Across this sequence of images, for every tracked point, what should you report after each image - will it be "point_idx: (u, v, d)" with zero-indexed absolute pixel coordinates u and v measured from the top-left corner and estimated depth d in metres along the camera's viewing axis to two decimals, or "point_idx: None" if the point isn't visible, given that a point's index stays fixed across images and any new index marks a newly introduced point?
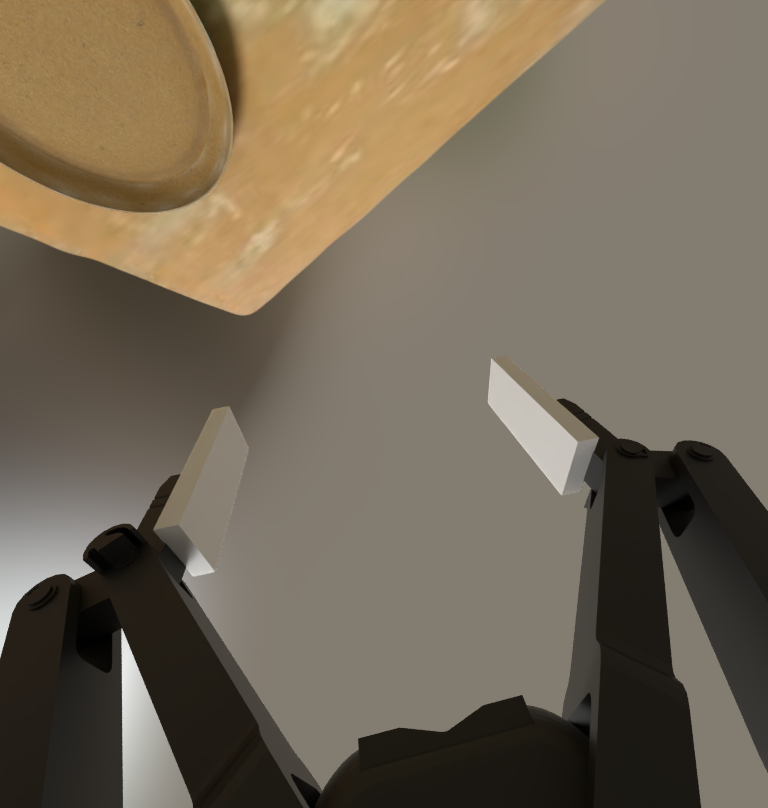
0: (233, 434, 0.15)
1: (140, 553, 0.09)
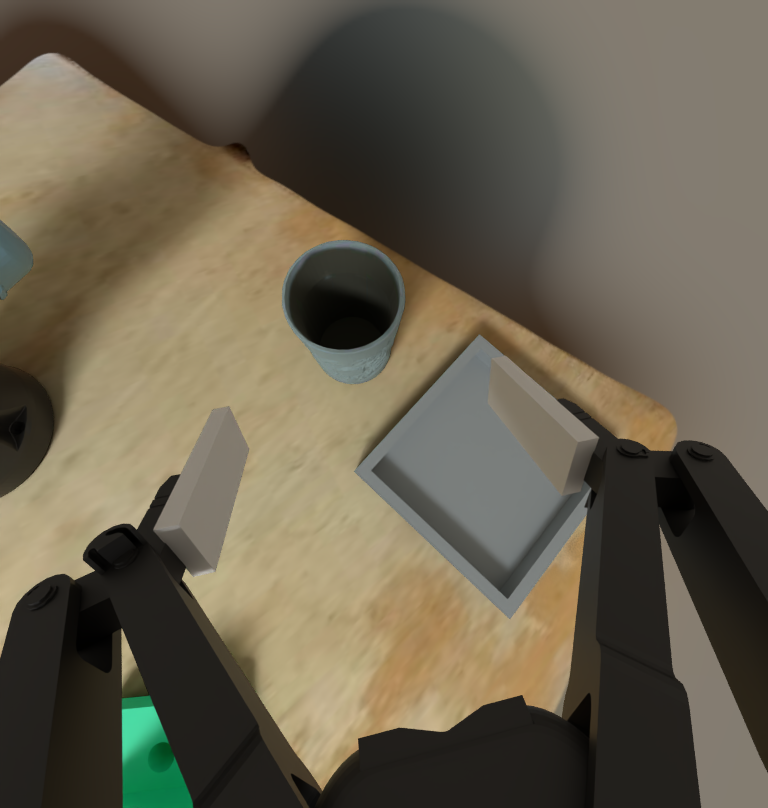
0: (233, 434, 0.15)
1: (140, 553, 0.09)
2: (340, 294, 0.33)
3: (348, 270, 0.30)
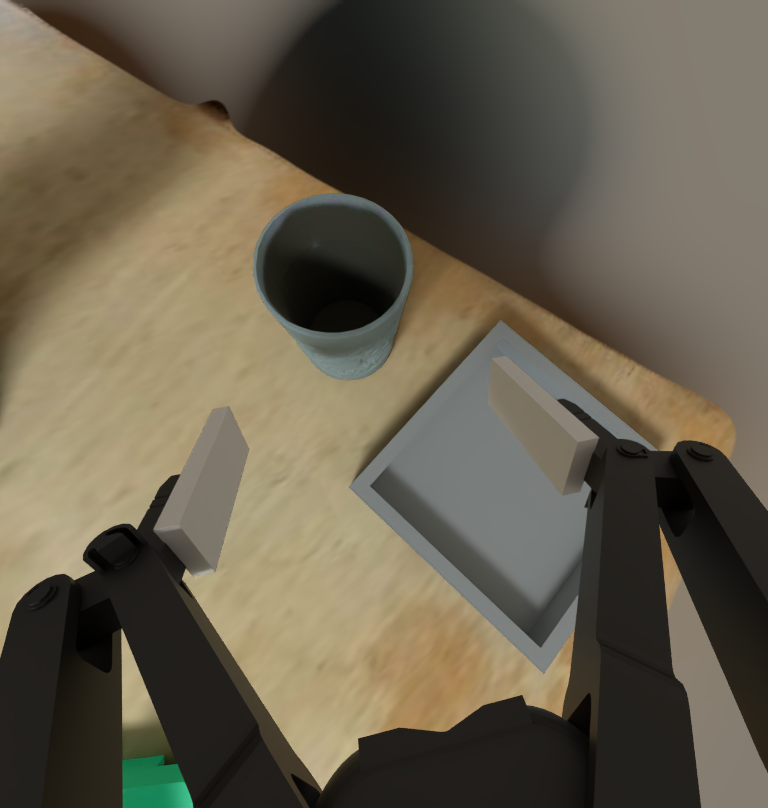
0: (233, 434, 0.15)
1: (140, 553, 0.09)
2: (332, 270, 0.27)
3: (341, 236, 0.24)
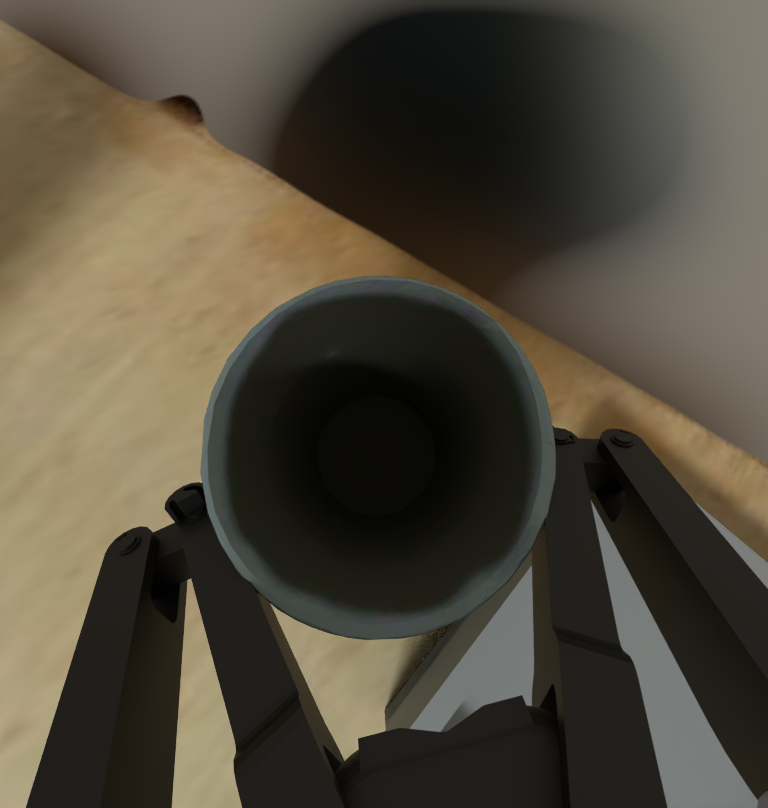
0: None
1: None
2: (358, 372, 0.16)
3: (381, 339, 0.13)
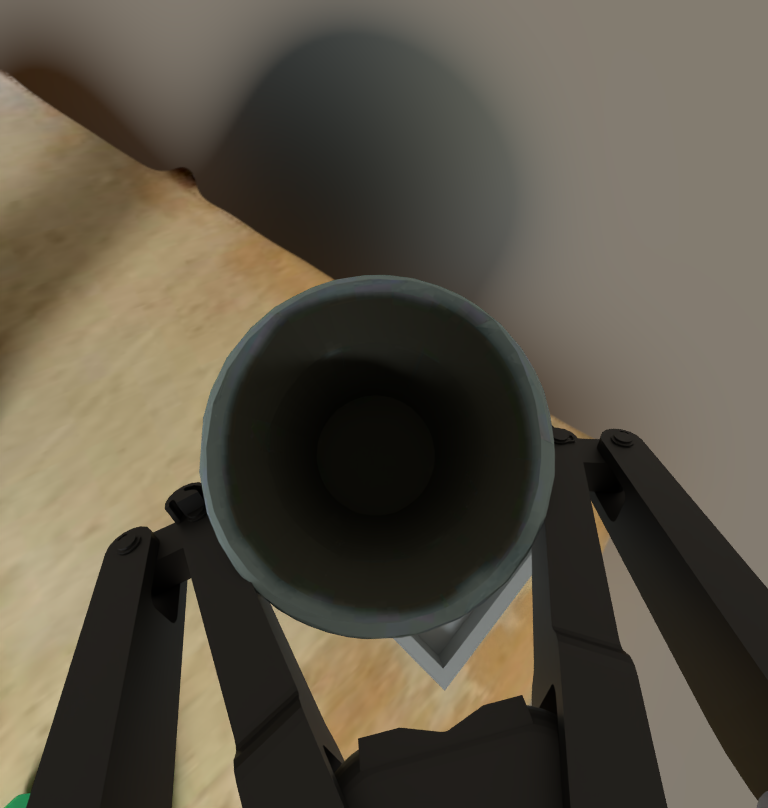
0: None
1: None
2: (357, 372, 0.16)
3: (380, 338, 0.13)
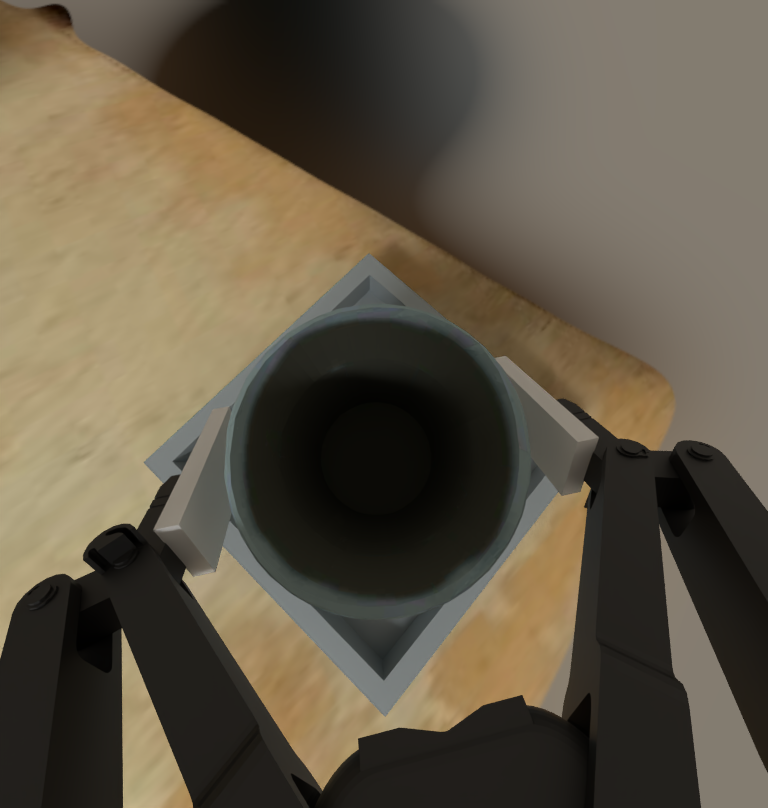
0: None
1: (140, 553, 0.09)
2: (359, 383, 0.18)
3: (380, 355, 0.14)
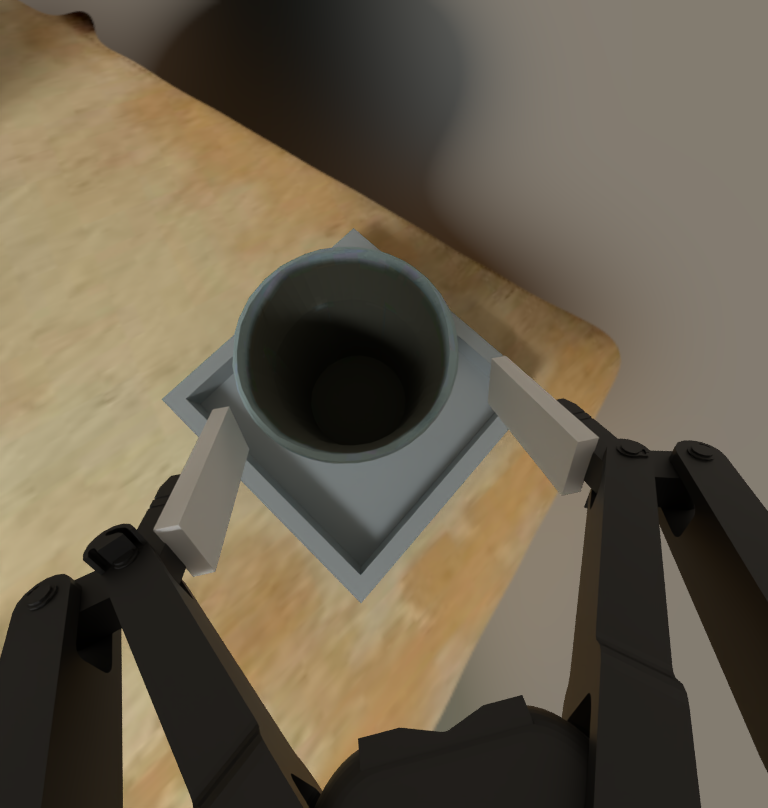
0: (233, 434, 0.15)
1: (140, 553, 0.09)
2: (341, 329, 0.22)
3: (354, 296, 0.18)
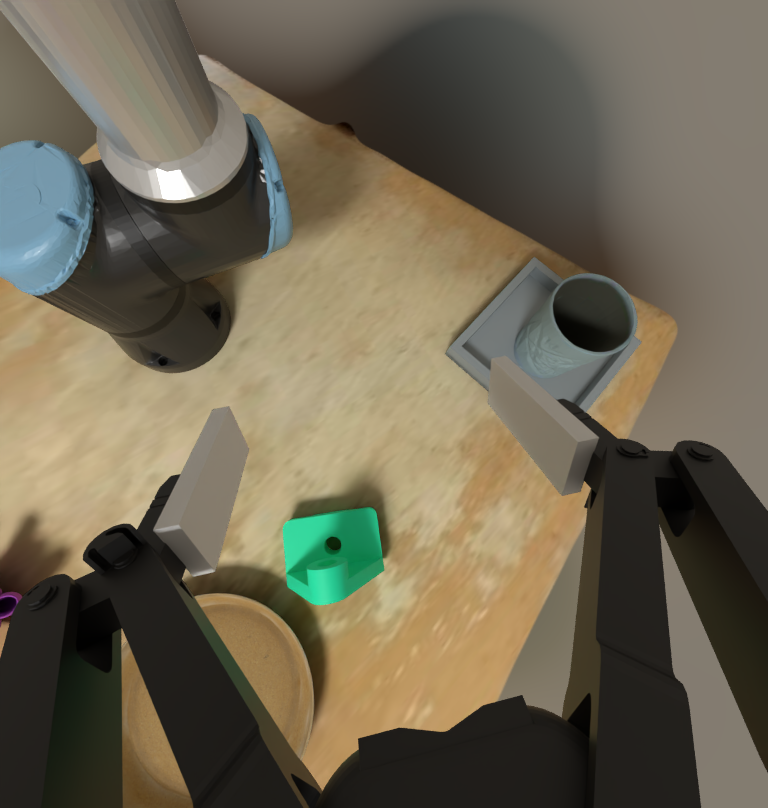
0: (233, 434, 0.15)
1: (140, 553, 0.09)
2: None
3: (574, 293, 0.40)
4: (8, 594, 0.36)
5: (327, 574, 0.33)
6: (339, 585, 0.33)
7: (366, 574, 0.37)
